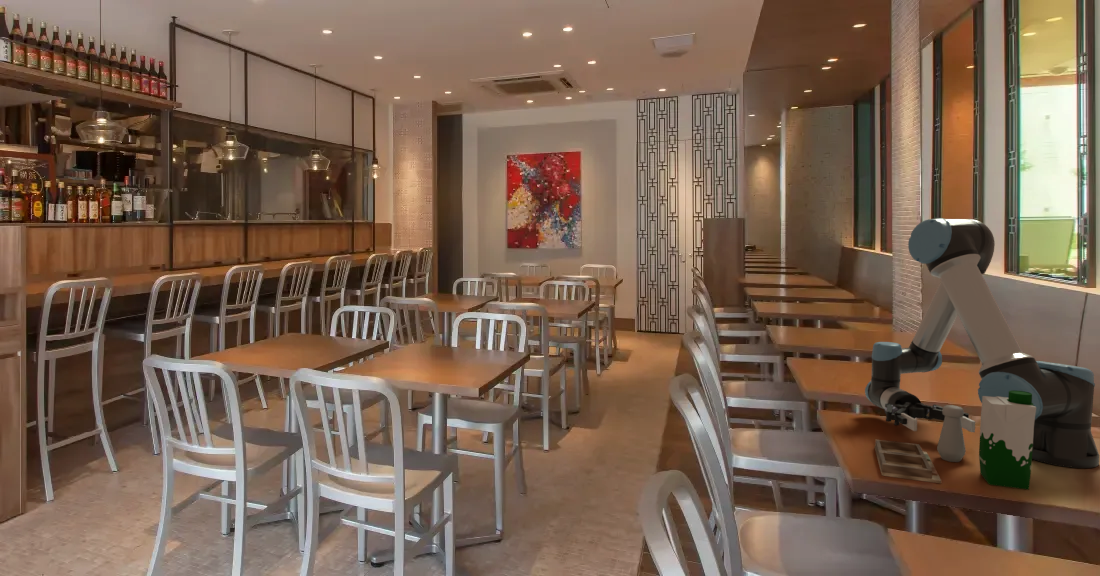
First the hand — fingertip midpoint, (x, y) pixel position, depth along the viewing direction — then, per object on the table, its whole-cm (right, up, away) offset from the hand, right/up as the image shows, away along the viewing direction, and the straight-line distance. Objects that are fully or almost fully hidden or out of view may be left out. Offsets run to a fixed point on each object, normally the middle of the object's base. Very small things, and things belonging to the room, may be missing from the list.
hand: (944, 426), depth 150 cm
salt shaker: (0, -8, -2) cm, 8 cm away
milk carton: (+3, -9, -16) cm, 18 cm away
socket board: (-13, -8, -5) cm, 16 cm away
